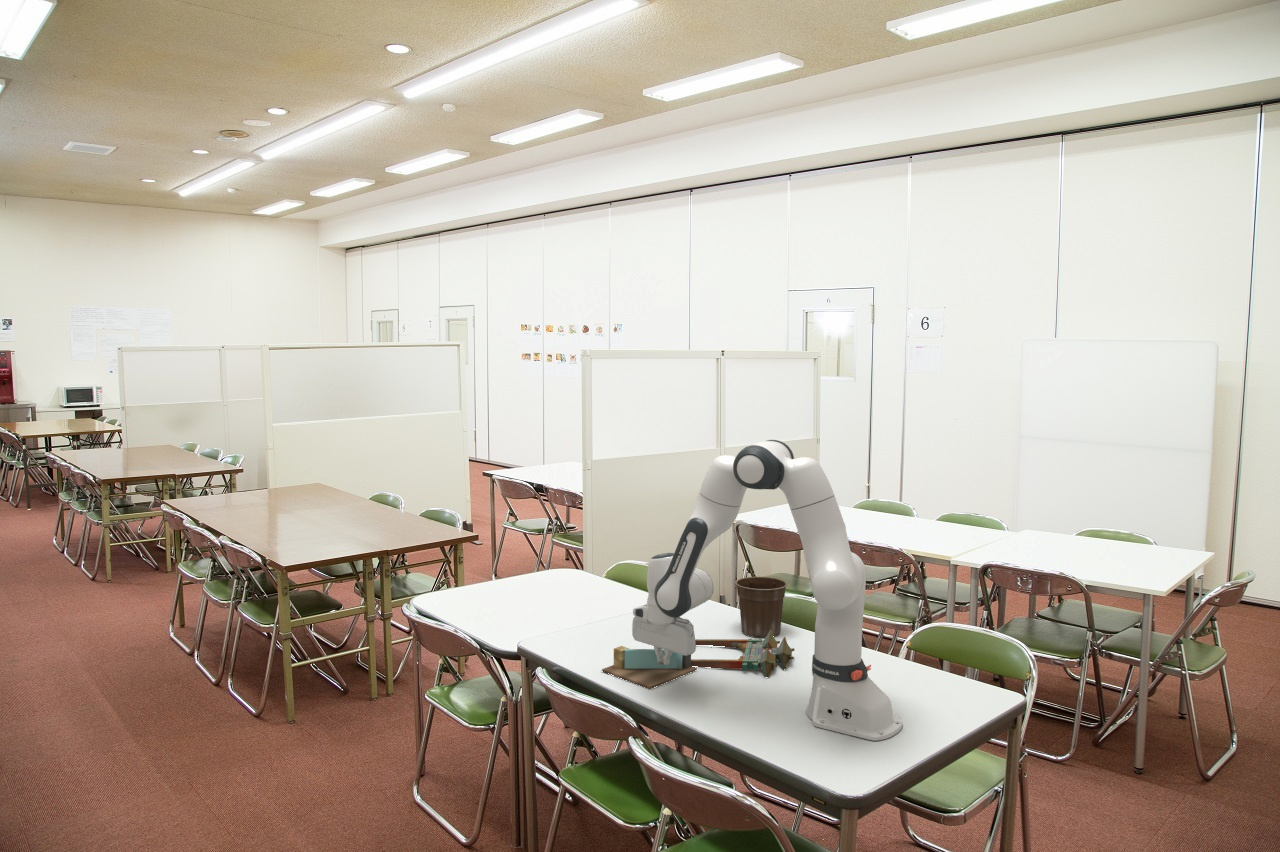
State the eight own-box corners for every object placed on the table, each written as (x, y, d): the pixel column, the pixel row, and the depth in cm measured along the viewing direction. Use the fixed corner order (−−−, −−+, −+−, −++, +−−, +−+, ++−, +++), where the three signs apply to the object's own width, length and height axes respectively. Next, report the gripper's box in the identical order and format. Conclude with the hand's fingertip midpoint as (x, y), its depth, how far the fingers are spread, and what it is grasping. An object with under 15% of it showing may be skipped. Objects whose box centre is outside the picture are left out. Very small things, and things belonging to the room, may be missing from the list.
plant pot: (723, 631, 265) (724, 581, 264) (756, 621, 276) (757, 573, 275) (763, 644, 253) (764, 592, 252) (796, 633, 264) (797, 583, 263)
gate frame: (696, 670, 231) (697, 638, 230) (649, 689, 217) (650, 655, 216) (649, 654, 243) (649, 624, 242) (602, 671, 229) (602, 639, 229)
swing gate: (682, 669, 229) (682, 650, 228) (624, 669, 228) (624, 650, 228) (682, 667, 231) (682, 647, 230) (624, 667, 230) (624, 648, 230)
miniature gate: (695, 629, 256) (794, 629, 250) (696, 647, 256) (795, 647, 250) (682, 660, 230) (792, 660, 224) (683, 679, 230) (793, 680, 224)
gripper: (700, 618, 219) (700, 669, 219) (644, 603, 233) (644, 652, 234) (685, 623, 214) (685, 676, 215) (628, 608, 228) (628, 657, 229)
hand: (663, 663), depth 224 cm, fingers closed
